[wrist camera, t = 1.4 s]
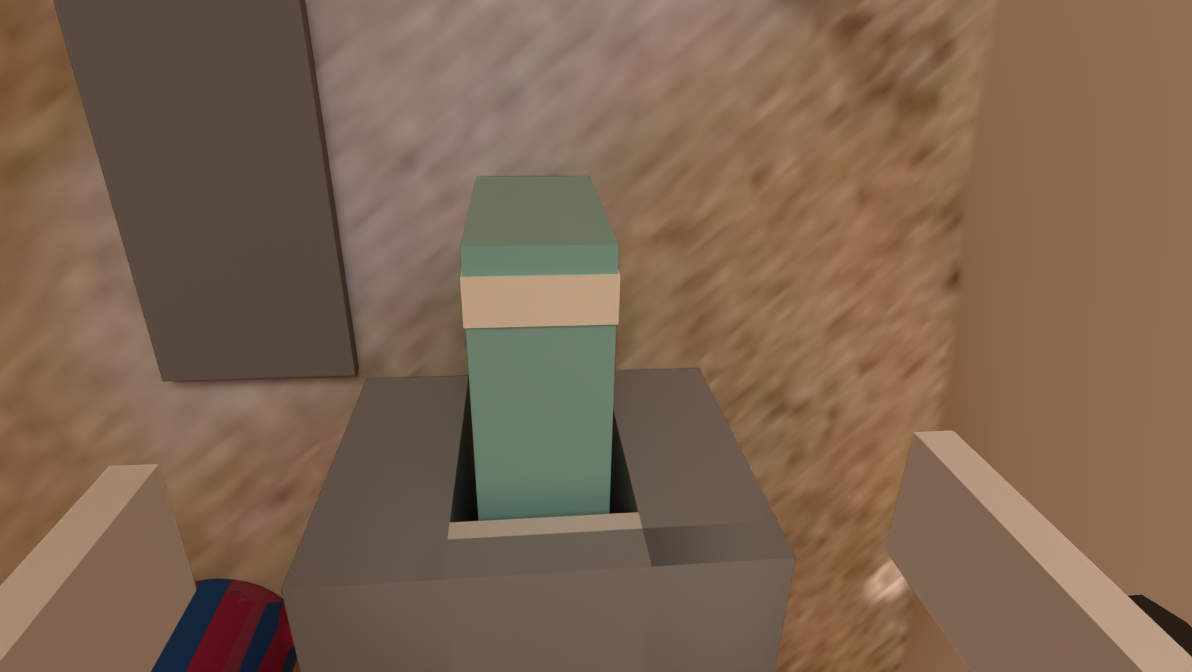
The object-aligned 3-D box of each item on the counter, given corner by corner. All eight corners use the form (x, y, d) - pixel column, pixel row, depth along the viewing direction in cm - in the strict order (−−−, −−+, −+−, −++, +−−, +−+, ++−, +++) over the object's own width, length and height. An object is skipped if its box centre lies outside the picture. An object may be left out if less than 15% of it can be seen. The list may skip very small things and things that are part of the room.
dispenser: (366, 378, 27) (280, 590, 17) (698, 368, 29) (796, 557, 19) (393, 569, 31) (337, 825, 22) (681, 551, 33) (752, 784, 23)
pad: (63, -6, 21) (51, -7, 20) (304, 0, 21) (299, -1, 21) (170, 373, 26) (162, 381, 26) (358, 368, 27) (354, 375, 26)
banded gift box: (475, 176, 24) (457, 248, 17) (590, 175, 25) (621, 245, 17) (490, 456, 29) (482, 603, 22) (585, 452, 30) (608, 595, 22)
